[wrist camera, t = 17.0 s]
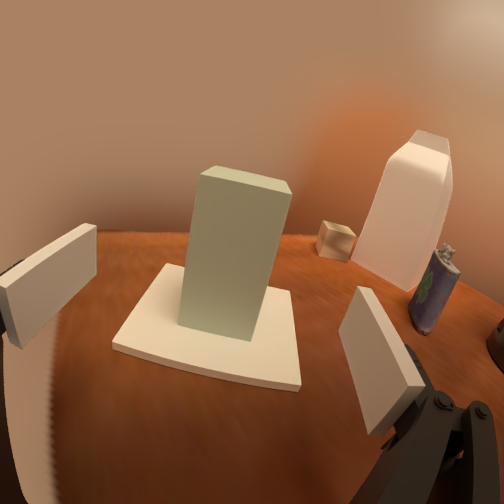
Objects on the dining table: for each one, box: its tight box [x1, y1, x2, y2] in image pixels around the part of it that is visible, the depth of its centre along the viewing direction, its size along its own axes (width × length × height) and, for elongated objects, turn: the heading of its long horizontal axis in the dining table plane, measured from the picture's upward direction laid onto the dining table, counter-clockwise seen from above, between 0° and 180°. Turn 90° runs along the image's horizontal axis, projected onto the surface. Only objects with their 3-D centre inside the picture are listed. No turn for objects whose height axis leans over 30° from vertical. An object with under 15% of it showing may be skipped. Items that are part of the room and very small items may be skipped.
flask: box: [408, 243, 460, 336], centre depth 32 cm, size 9×3×11 cm, turn 157°
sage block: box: [178, 166, 292, 342], centre depth 23 cm, size 6×6×12 cm
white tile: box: [112, 263, 301, 392], centre depth 25 cm, size 14×14×1 cm
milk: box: [350, 130, 453, 292], centre depth 44 cm, size 12×12×26 cm
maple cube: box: [315, 220, 356, 263], centre depth 49 cm, size 5×5×5 cm
